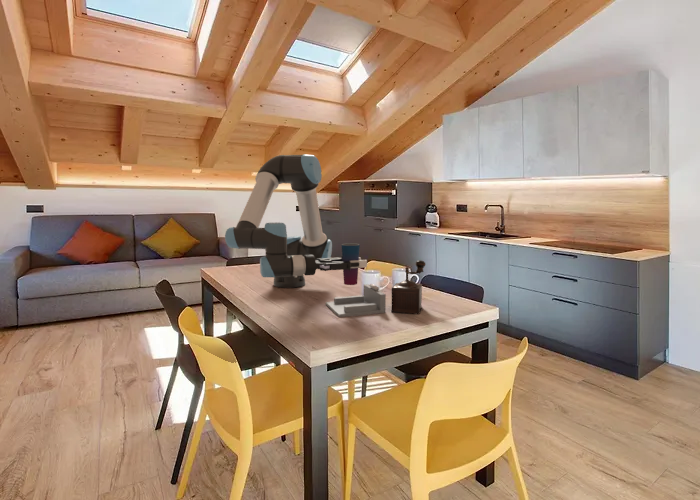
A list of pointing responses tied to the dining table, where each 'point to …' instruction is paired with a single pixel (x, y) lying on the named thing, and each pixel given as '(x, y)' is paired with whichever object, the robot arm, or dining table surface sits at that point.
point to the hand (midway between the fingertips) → (363, 262)
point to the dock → (360, 303)
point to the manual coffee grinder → (408, 293)
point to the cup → (350, 254)
